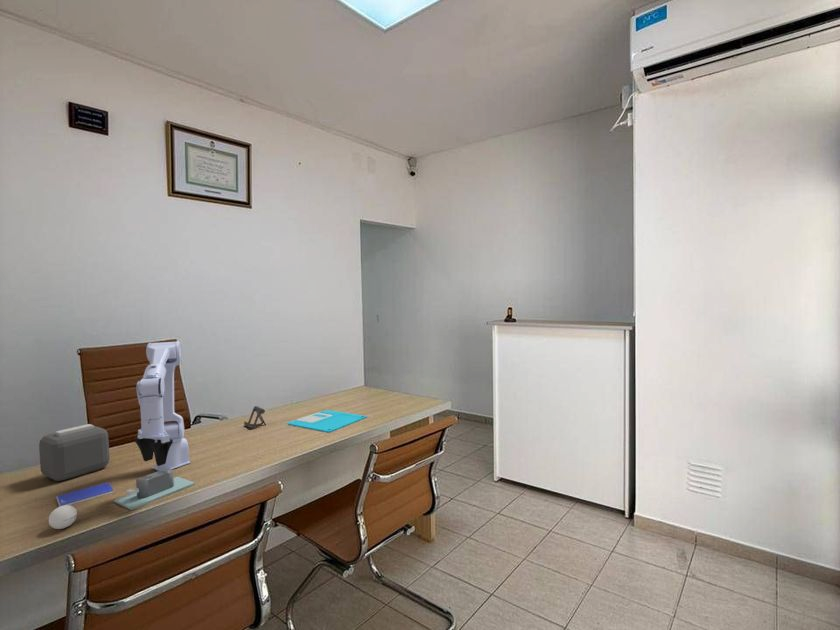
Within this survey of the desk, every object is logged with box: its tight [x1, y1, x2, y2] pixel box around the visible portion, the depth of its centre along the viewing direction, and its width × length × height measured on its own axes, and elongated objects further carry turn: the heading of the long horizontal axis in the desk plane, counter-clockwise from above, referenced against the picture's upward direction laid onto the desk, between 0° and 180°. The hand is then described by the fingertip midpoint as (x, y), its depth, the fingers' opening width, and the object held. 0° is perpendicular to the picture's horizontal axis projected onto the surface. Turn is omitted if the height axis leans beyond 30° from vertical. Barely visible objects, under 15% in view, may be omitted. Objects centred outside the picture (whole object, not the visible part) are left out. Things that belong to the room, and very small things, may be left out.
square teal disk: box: [286, 409, 368, 434], centre depth 196 cm, size 26×28×1 cm
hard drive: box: [56, 481, 114, 507], centre depth 124 cm, size 2×8×12 cm
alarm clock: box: [38, 423, 110, 482], centre depth 142 cm, size 16×11×16 cm
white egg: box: [48, 505, 80, 530], centre depth 107 cm, size 8×6×6 cm
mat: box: [113, 476, 196, 511], centre depth 124 cm, size 18×10×1 cm, turn 149°
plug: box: [126, 469, 174, 498], centre depth 123 cm, size 12×4×5 cm, turn 149°
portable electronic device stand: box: [243, 405, 267, 430], centre depth 191 cm, size 9×8×8 cm
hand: (154, 462), depth 124 cm, fingers open, 7 cm apart
